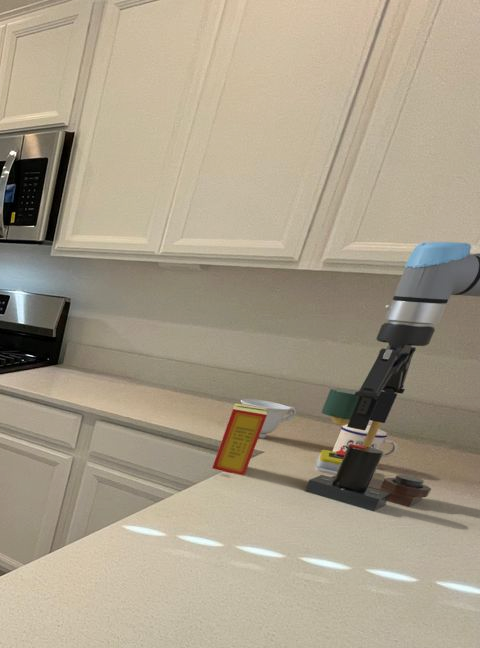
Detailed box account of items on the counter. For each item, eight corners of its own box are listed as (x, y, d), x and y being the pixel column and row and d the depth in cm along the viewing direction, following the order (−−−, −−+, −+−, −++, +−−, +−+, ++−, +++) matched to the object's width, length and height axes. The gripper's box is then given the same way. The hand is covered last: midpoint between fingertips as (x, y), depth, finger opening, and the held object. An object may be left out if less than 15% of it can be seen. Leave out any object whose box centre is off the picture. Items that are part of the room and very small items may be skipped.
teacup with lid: (331, 460, 161) (348, 420, 157) (326, 452, 168) (343, 413, 164) (391, 471, 154) (411, 430, 150) (384, 463, 161) (403, 423, 157)
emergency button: (369, 453, 154) (371, 465, 144) (363, 468, 156) (363, 481, 145) (323, 443, 160) (321, 455, 150) (316, 458, 162) (314, 470, 151)
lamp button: (423, 487, 133) (426, 480, 132) (417, 490, 131) (421, 483, 130) (396, 480, 137) (399, 473, 136) (390, 483, 134) (394, 476, 134)
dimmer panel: (386, 504, 131) (392, 491, 130) (372, 512, 126) (378, 499, 125) (318, 485, 141) (323, 473, 140) (302, 492, 136) (308, 479, 135)
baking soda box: (244, 475, 144) (267, 413, 139) (212, 468, 148) (233, 407, 143) (245, 466, 151) (267, 407, 146) (215, 459, 155) (235, 401, 150)
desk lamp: (374, 471, 141) (407, 399, 134) (363, 476, 137) (397, 402, 130) (309, 455, 151) (337, 386, 144) (297, 459, 147) (325, 389, 140)
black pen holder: (369, 488, 132) (387, 449, 128) (361, 492, 129) (379, 453, 126) (337, 479, 136) (353, 442, 133) (329, 483, 133) (345, 445, 130)
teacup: (298, 443, 175) (311, 411, 172) (244, 438, 177) (256, 406, 173) (272, 432, 186) (283, 401, 183) (221, 427, 188) (232, 397, 185)
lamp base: (428, 501, 135) (436, 485, 133) (416, 509, 130) (424, 493, 128) (342, 478, 147) (348, 464, 145) (328, 485, 142) (334, 469, 140)
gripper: (400, 320, 127) (361, 414, 134) (364, 322, 114) (323, 426, 121) (451, 324, 121) (407, 422, 128) (419, 328, 108) (372, 437, 115)
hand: (366, 425), depth 125 cm, fingers open, 13 cm apart
